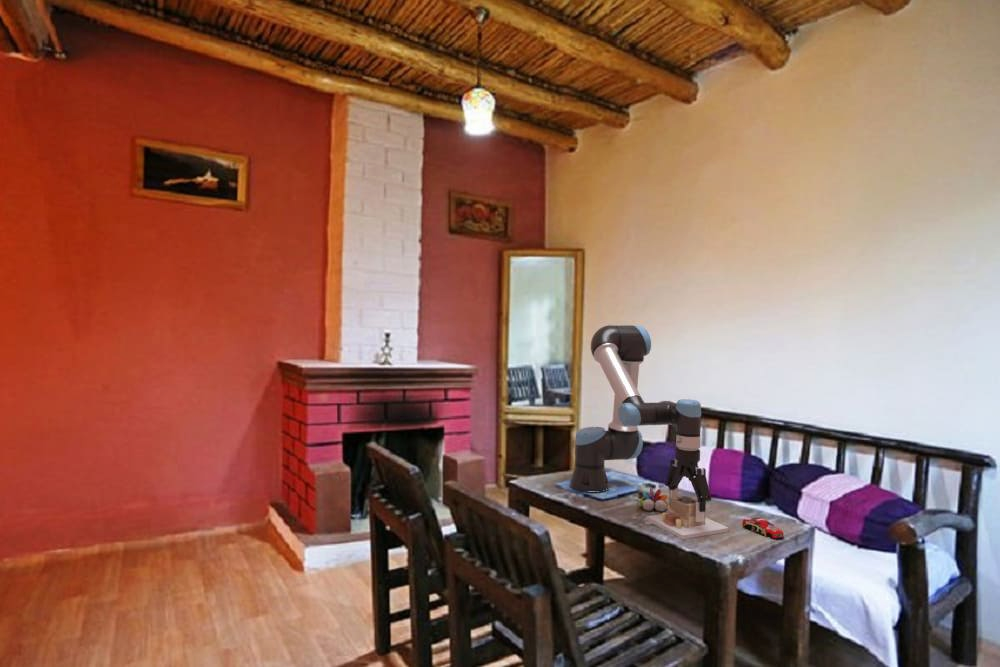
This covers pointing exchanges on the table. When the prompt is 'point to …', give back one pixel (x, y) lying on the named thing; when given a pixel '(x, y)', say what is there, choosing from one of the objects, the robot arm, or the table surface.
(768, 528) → the race car
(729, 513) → the table surface
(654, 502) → the rainbow spiky toy
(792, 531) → the table surface
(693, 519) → the flange collar
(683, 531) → the post board
